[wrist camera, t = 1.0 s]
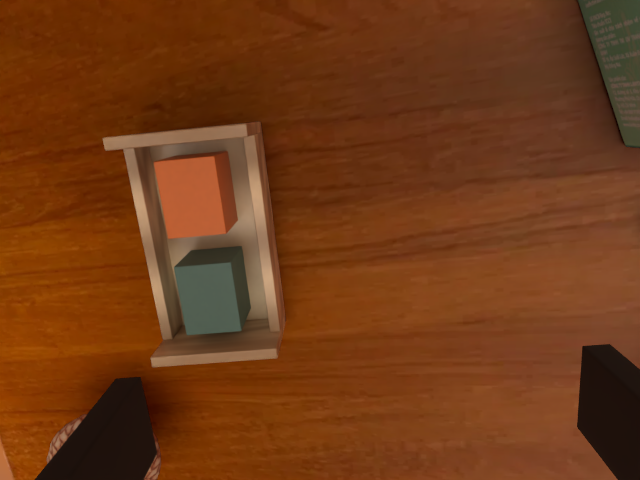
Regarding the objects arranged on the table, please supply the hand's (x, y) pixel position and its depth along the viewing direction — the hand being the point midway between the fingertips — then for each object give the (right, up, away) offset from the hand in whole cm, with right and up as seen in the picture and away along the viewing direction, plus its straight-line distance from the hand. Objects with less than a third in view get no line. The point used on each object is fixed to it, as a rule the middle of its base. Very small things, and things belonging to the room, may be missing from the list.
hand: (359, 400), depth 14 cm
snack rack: (-9, +5, +22) cm, 25 cm away
